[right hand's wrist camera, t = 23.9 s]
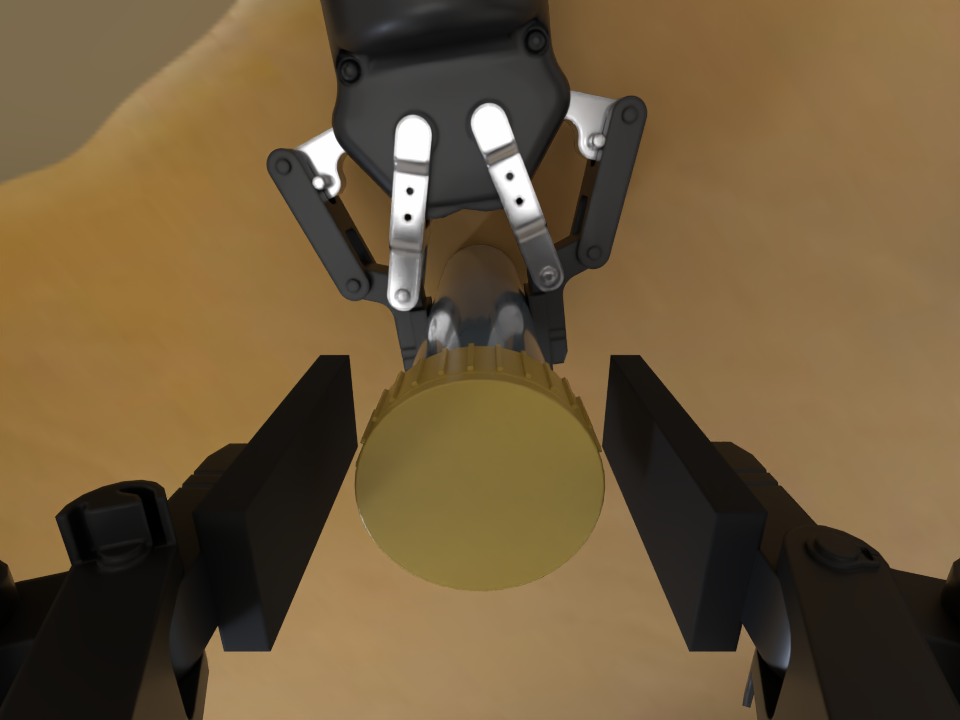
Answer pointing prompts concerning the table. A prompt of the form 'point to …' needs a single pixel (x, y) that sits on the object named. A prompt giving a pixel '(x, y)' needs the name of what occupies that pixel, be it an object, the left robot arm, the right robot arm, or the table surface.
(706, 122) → the table surface
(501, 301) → the bottle
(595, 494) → the lid
